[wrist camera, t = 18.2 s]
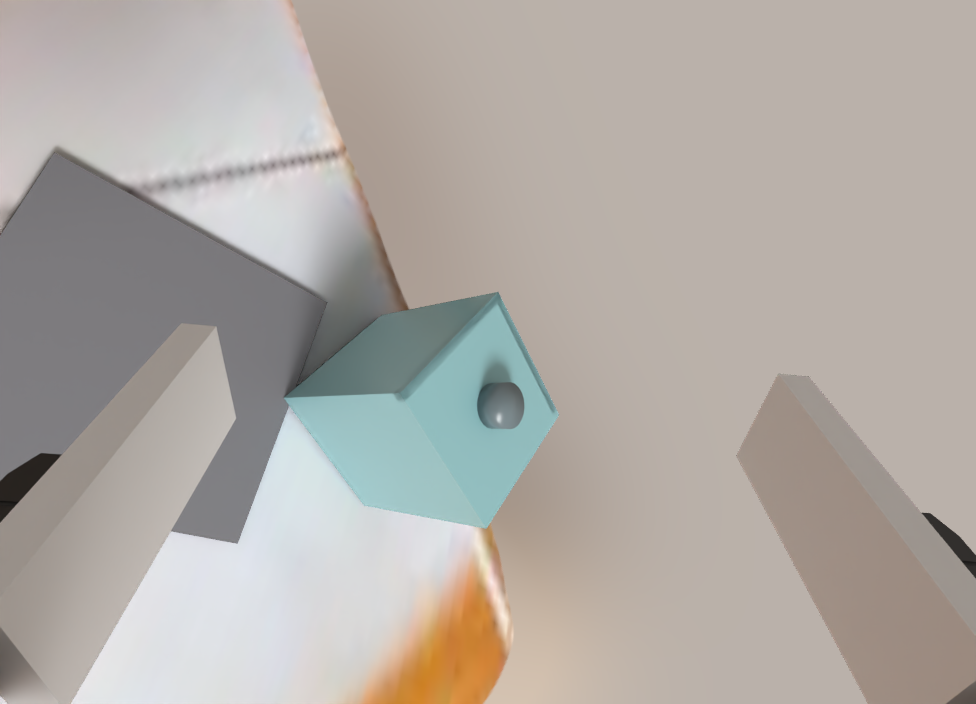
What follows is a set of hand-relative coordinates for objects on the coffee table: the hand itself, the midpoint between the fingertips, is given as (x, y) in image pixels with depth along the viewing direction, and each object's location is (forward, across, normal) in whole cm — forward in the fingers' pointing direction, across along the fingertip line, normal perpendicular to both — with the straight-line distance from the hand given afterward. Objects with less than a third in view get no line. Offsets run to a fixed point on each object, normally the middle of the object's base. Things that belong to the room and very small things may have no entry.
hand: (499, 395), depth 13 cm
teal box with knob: (+24, -8, -21) cm, 33 cm away
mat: (+16, -20, -13) cm, 29 cm away
